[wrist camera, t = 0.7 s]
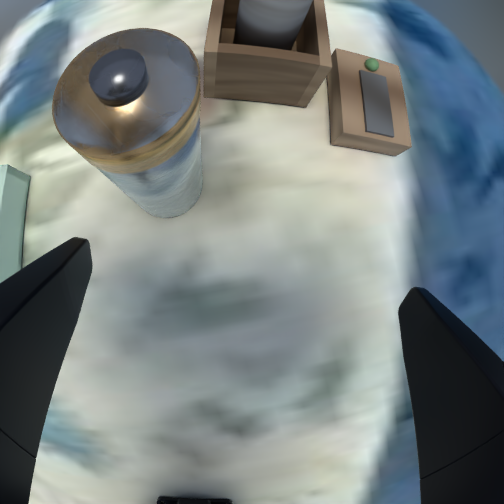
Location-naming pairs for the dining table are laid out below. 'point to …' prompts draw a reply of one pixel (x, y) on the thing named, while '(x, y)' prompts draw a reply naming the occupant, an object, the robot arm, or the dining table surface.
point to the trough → (11, 218)
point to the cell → (136, 116)
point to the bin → (266, 50)
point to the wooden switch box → (367, 104)
